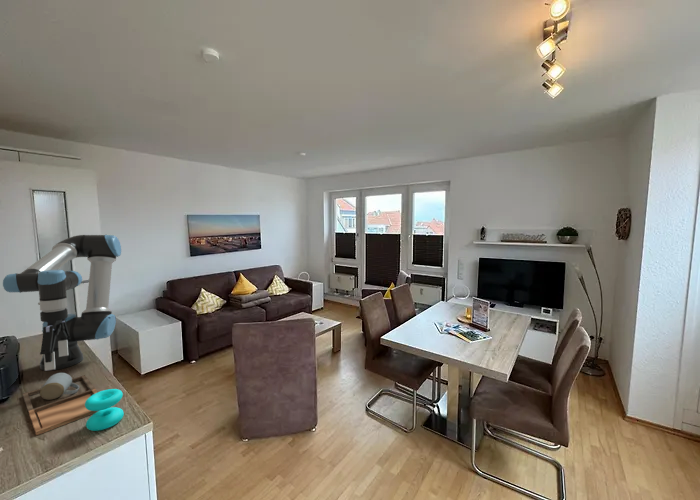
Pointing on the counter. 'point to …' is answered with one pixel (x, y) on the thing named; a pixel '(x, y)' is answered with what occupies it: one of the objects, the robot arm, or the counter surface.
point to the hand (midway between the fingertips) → (57, 362)
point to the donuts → (104, 409)
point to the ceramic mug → (57, 386)
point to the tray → (60, 409)
